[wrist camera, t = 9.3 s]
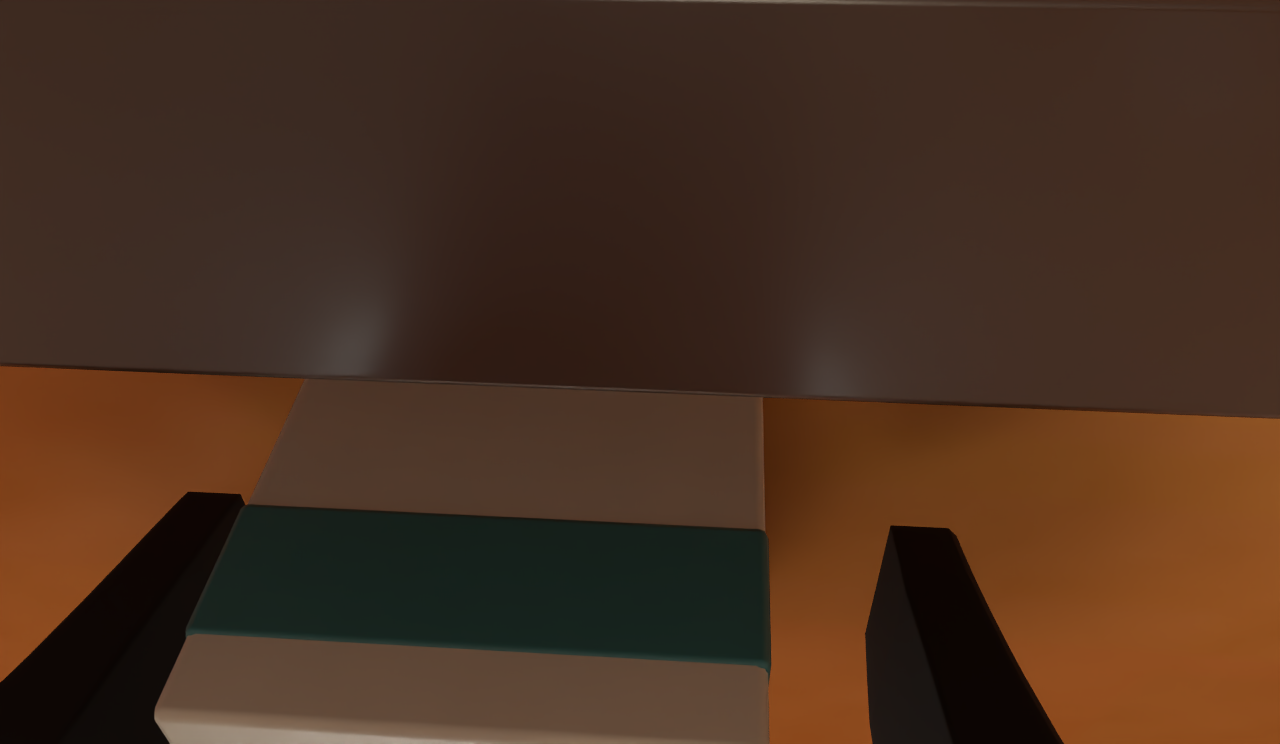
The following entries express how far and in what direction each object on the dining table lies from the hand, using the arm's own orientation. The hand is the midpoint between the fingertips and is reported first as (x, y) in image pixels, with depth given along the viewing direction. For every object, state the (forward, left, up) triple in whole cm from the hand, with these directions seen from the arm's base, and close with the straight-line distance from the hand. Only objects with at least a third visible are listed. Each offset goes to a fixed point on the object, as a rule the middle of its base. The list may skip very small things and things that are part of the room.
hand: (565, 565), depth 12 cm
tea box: (0, 0, -2) cm, 2 cm away
